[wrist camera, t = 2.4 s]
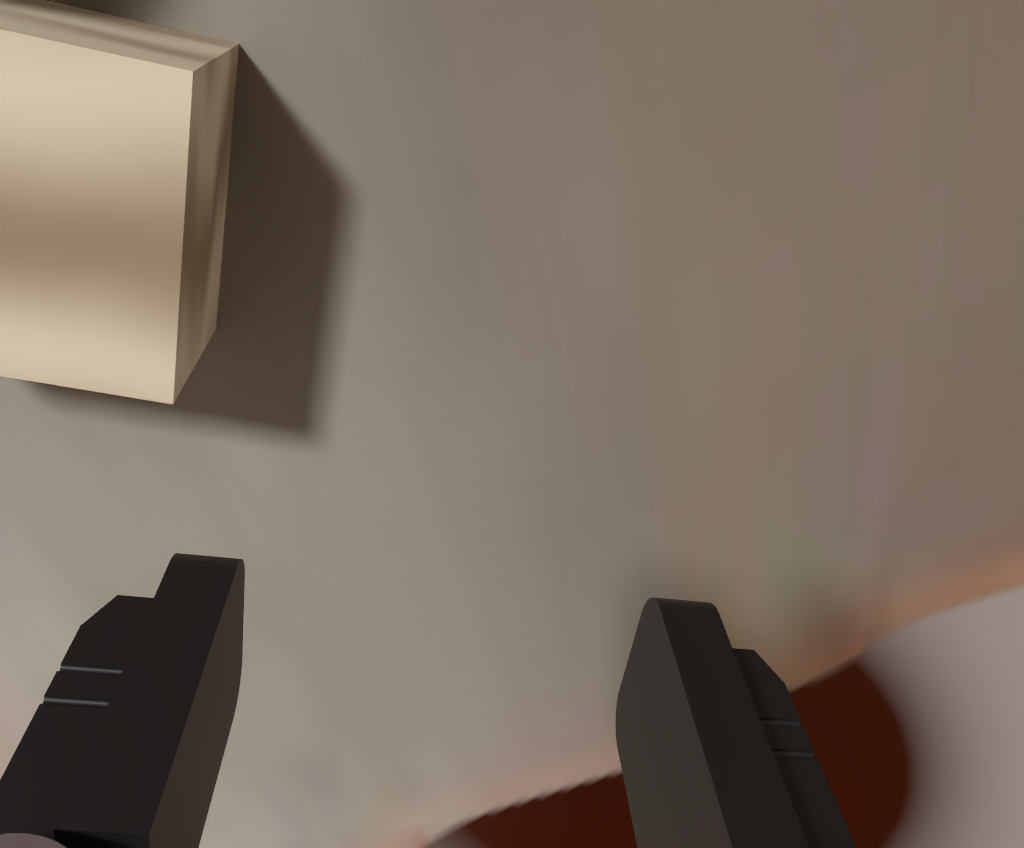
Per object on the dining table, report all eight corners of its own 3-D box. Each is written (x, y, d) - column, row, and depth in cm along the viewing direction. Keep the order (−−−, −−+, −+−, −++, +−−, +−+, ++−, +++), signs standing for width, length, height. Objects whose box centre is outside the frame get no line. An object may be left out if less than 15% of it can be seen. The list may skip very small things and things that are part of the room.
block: (-95, -33, 23) (-227, -21, 18) (241, 42, 24) (193, 71, 19) (-72, 274, 26) (-177, 347, 22) (217, 326, 27) (173, 404, 23)
